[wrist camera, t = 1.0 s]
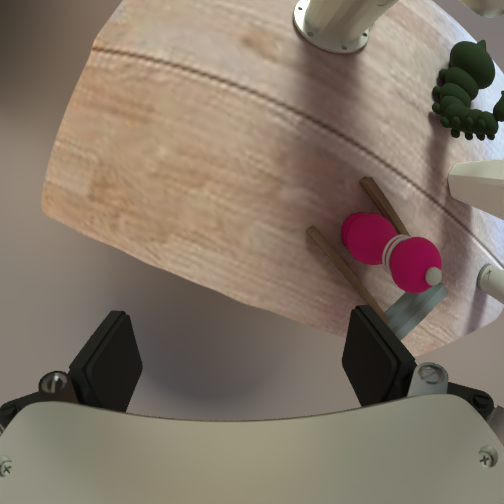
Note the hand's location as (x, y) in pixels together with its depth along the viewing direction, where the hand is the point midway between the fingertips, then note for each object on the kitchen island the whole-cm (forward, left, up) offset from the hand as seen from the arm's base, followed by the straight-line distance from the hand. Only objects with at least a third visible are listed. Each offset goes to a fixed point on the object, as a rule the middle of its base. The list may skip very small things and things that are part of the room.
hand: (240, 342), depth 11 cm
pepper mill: (-12, +14, -30) cm, 35 cm away
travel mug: (-32, +46, -30) cm, 63 cm away
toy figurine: (-46, +7, -30) cm, 55 cm away
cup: (-35, +22, -30) cm, 51 cm away
